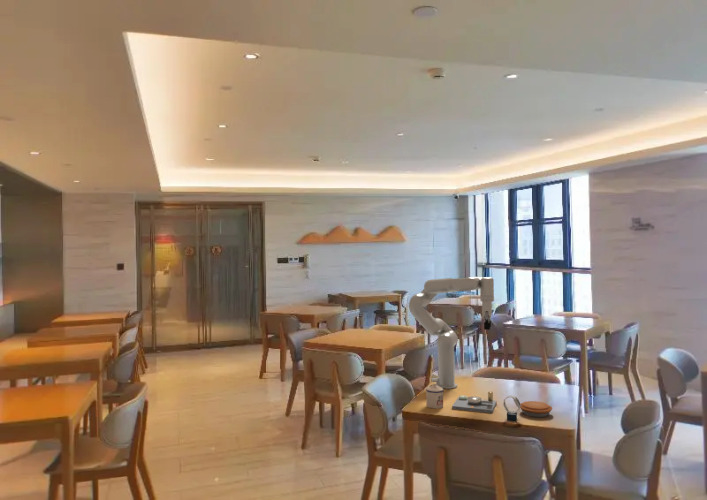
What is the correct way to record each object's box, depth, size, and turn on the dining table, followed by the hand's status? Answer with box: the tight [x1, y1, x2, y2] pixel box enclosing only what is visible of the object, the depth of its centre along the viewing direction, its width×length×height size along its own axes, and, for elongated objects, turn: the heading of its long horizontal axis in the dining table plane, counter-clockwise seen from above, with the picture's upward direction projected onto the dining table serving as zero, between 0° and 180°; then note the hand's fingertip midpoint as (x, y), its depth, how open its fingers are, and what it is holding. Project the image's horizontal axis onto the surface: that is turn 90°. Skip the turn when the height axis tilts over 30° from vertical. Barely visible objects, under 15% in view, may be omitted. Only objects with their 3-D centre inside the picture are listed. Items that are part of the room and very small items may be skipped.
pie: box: [520, 400, 553, 418], centre depth 259 cm, size 15×16×5 cm
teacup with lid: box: [425, 382, 444, 409], centre depth 274 cm, size 12×9×12 cm
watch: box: [502, 395, 521, 422], centre depth 251 cm, size 6×8×11 cm
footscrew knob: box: [467, 391, 494, 404], centre depth 271 cm, size 13×7×6 cm, turn 68°
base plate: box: [451, 395, 497, 414], centre depth 272 cm, size 20×18×3 cm
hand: (487, 328), depth 303 cm, fingers open, 9 cm apart
